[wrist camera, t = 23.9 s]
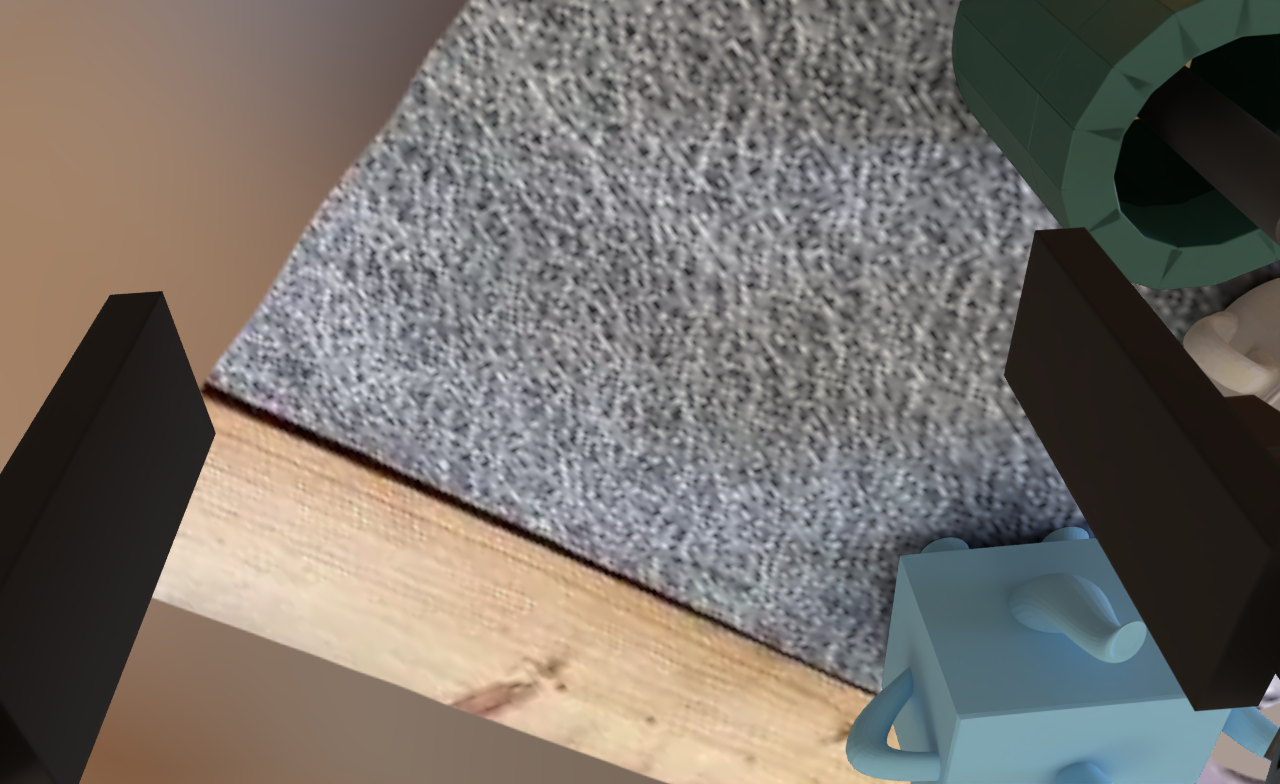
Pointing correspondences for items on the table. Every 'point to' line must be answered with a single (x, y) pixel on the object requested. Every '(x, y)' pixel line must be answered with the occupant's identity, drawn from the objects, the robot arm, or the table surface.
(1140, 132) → the green plastic cup
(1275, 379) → the teacup
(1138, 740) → the teakettle
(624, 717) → the table surface
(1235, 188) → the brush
